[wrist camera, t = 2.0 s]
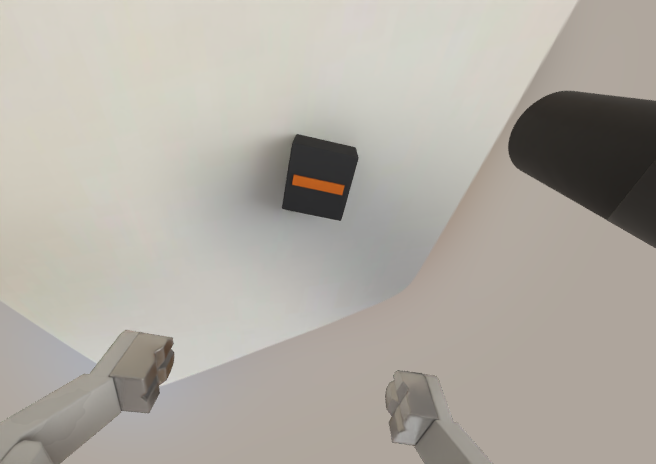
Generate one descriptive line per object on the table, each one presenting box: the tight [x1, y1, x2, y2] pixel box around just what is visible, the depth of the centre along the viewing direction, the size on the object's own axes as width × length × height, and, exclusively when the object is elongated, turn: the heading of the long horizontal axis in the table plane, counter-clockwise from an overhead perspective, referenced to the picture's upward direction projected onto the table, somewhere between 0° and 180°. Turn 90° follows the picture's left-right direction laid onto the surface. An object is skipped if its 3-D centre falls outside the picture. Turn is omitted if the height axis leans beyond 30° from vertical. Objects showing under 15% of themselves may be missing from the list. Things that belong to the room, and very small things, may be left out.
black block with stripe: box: [282, 134, 358, 221], centre depth 24 cm, size 5×6×3 cm
